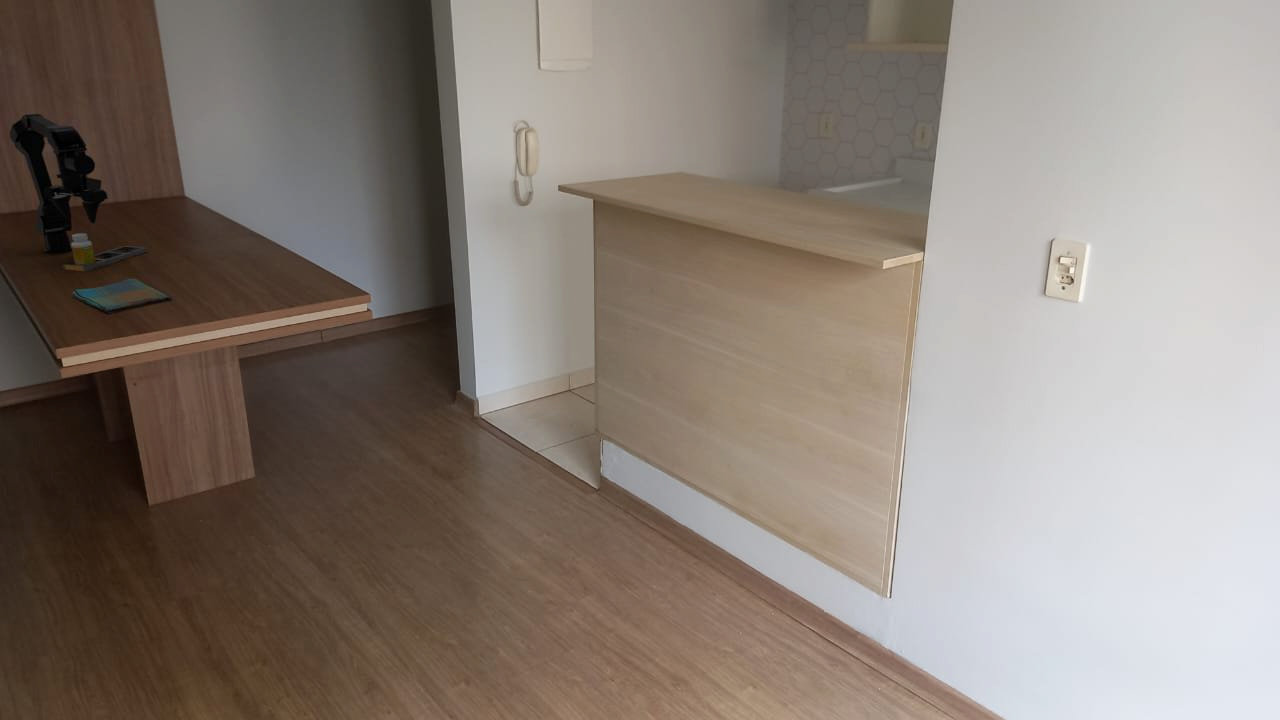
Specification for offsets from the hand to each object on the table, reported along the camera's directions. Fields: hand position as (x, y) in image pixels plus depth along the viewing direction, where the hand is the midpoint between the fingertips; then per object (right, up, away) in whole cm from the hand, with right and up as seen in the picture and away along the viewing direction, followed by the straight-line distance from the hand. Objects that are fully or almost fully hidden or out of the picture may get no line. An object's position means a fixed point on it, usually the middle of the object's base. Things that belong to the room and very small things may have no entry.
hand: (81, 221), depth 276 cm
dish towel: (+30, -26, -30) cm, 50 cm away
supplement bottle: (+2, -14, -1) cm, 14 cm away
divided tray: (+5, -11, +5) cm, 13 cm away
